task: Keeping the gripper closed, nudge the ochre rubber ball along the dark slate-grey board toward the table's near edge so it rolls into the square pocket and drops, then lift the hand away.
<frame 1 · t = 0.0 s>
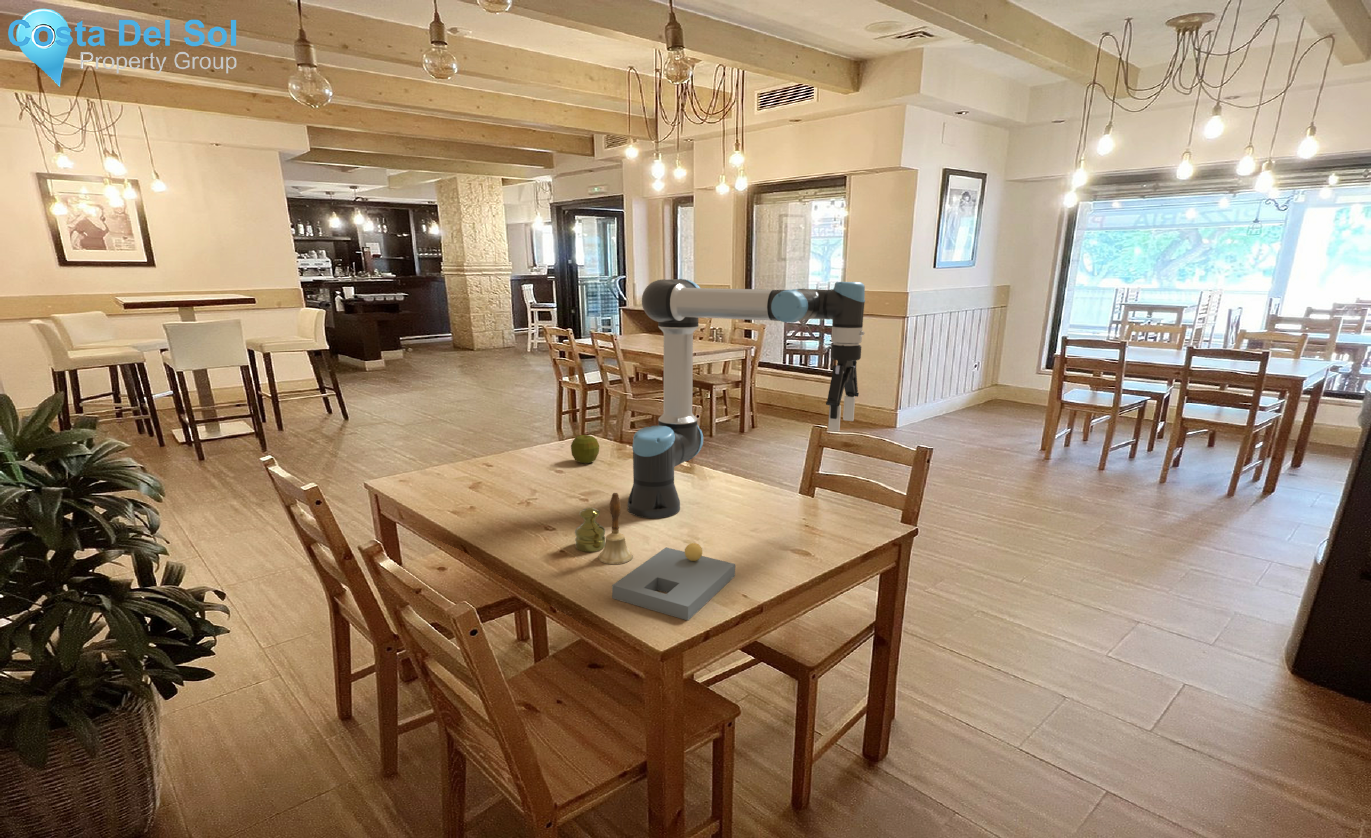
hand: (841, 425, 168), 28 cm above the table, fingers open, 13 cm apart
olive green tall piece: (590, 547, 161), on the table
ball: (693, 560, 146), point 3 cm above the table, touching board
hand bell: (615, 558, 155), on the table
board: (675, 586, 140), on the table
apple: (585, 463, 232), on the table
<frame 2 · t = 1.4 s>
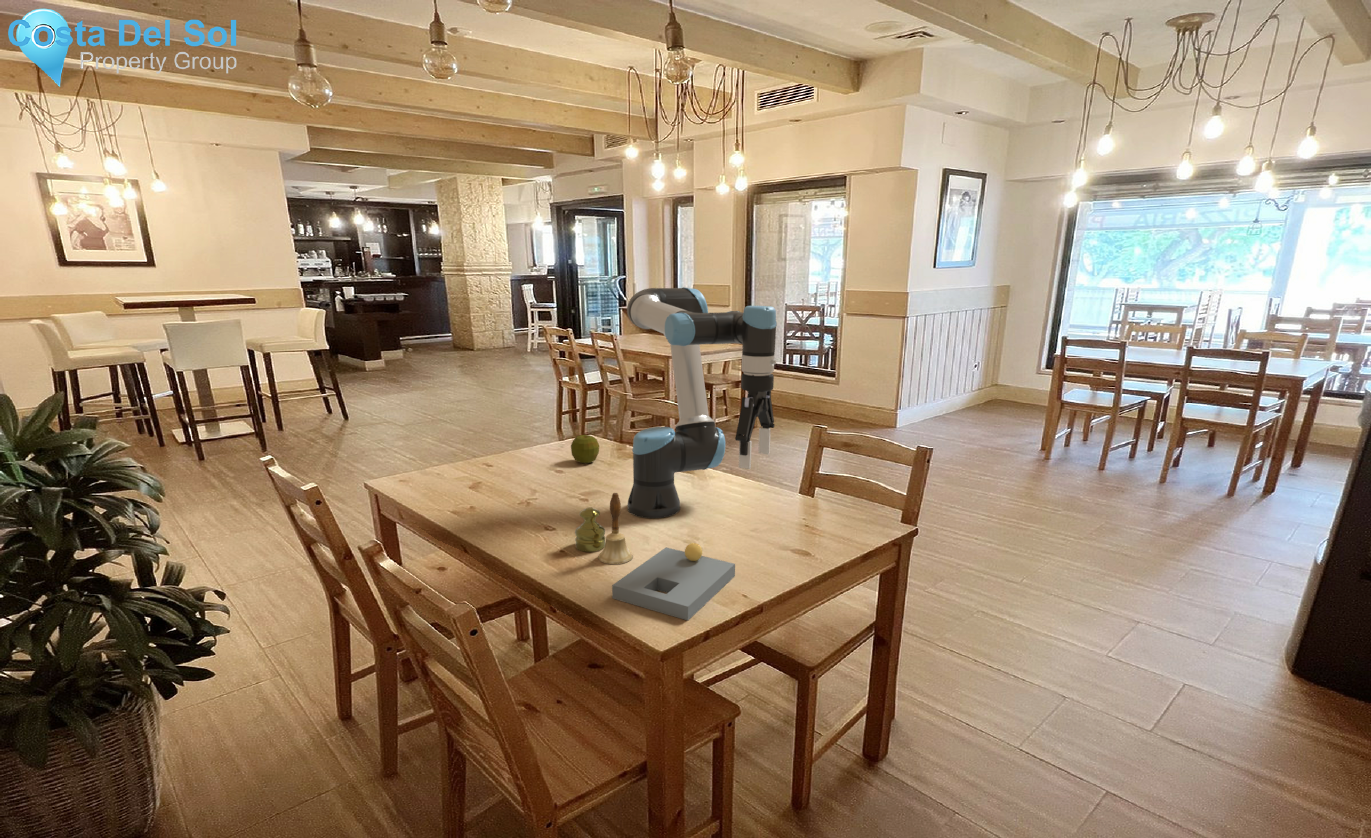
hand: (754, 460, 156), 23 cm above the table, fingers open, 13 cm apart
nothing on the table moved.
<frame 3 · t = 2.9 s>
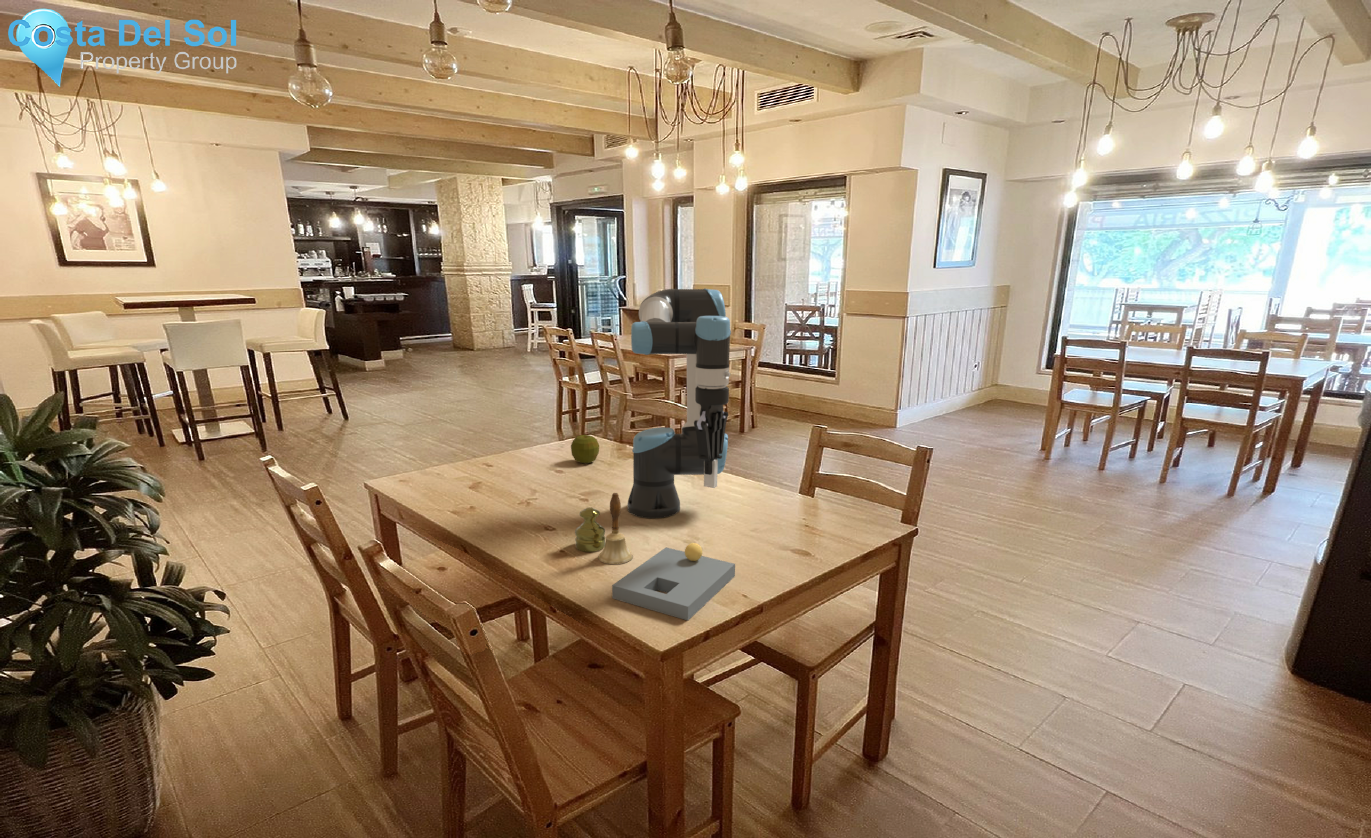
hand: (710, 486, 150), 18 cm above the table, fingers closed
nothing on the table moved.
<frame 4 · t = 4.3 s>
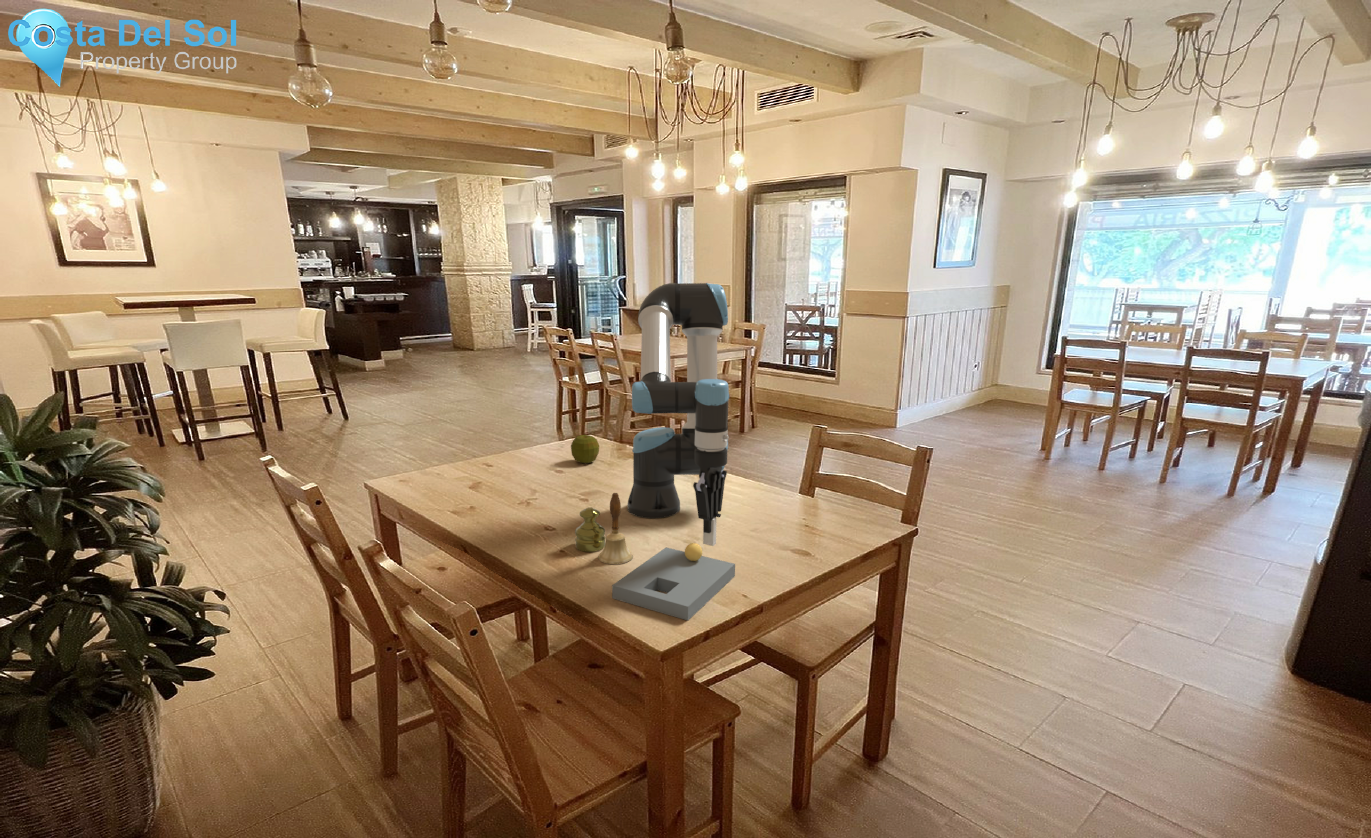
hand: (709, 543, 153), 4 cm above the table, fingers closed
nothing on the table moved.
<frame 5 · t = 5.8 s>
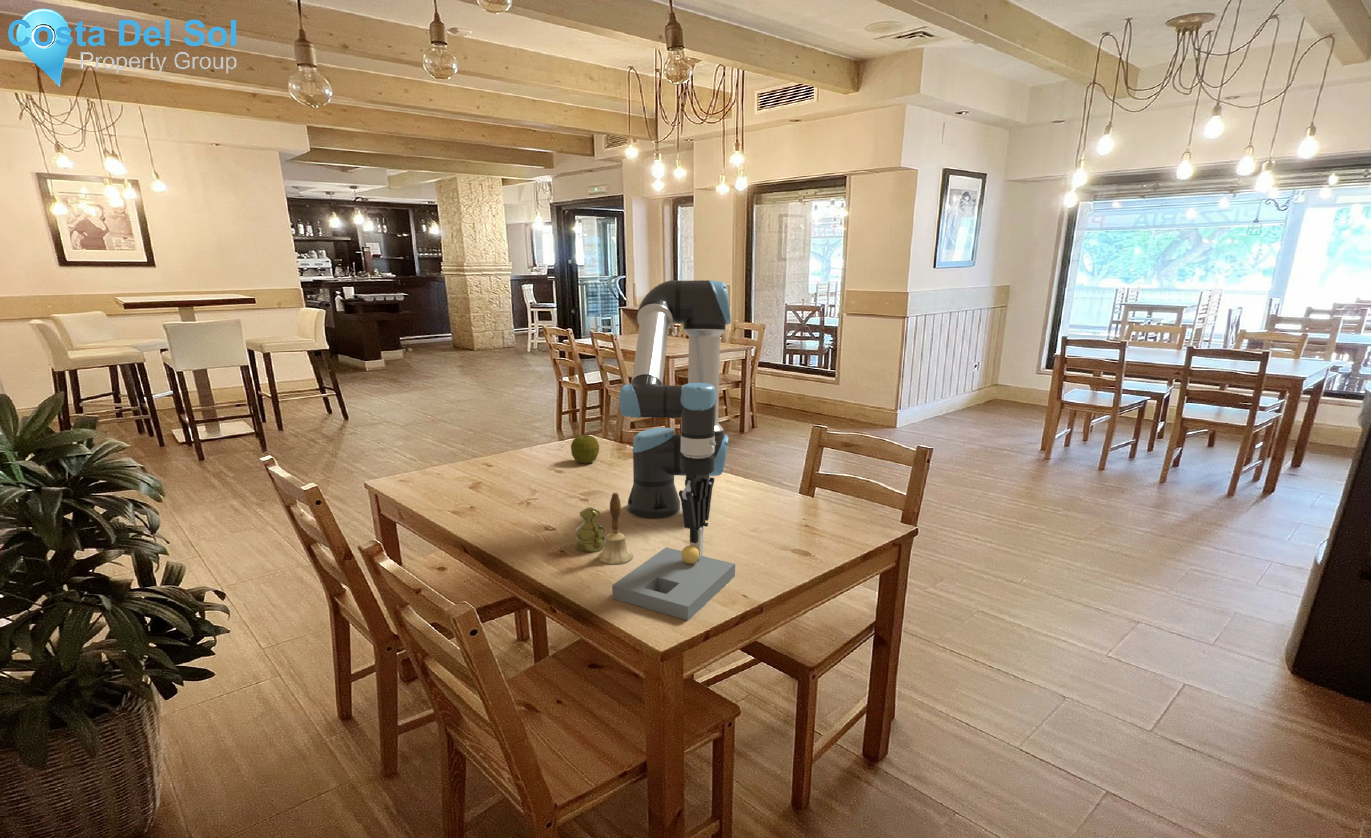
hand: (696, 553, 147), 4 cm above the table, fingers closed
ball: (693, 558, 146), point 4 cm above the table, tilted 44°, touching board
everything else where it was.
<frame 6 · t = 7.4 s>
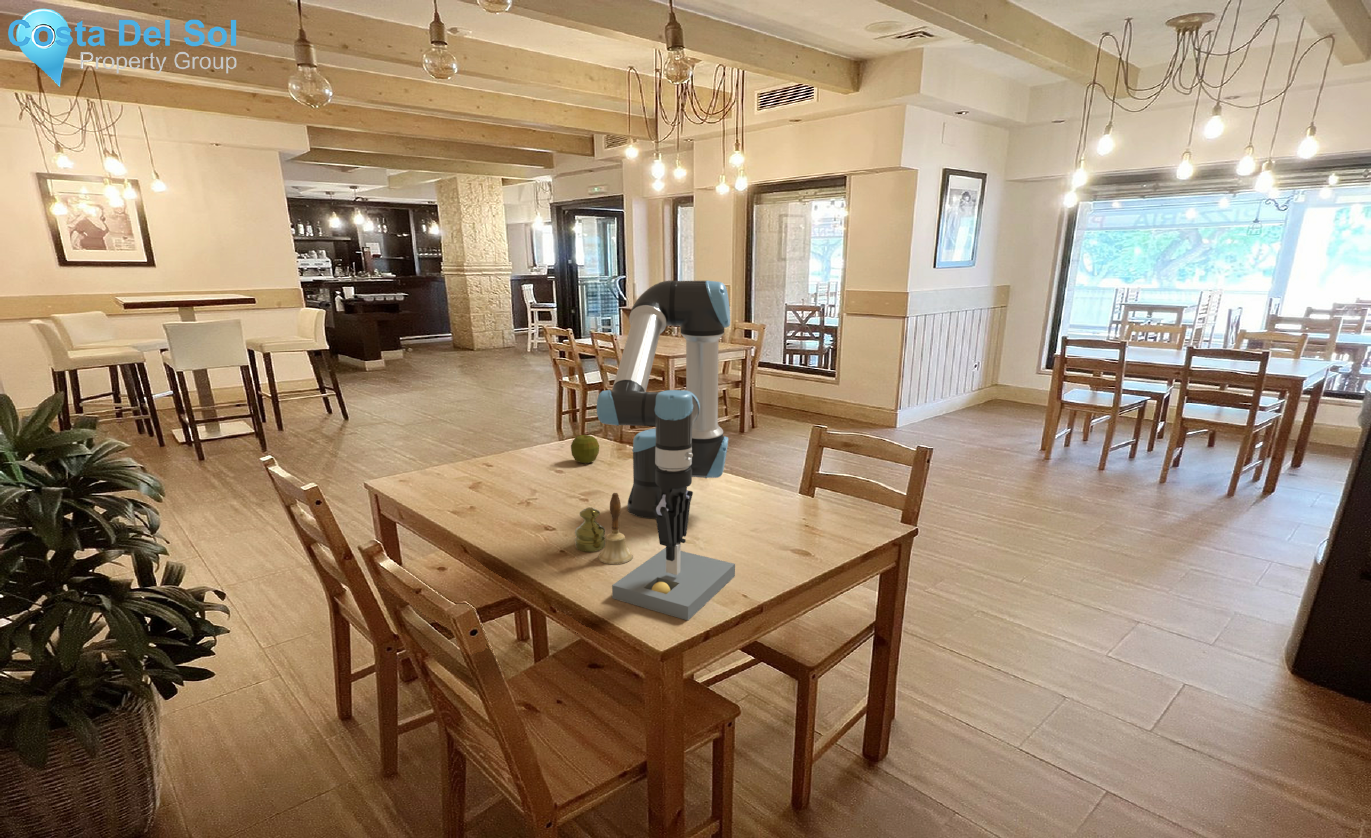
hand: (673, 572, 138), 4 cm above the table, fingers closed
ball: (665, 587, 136), point 2 cm above the table, tilted 94°
everything else where it was.
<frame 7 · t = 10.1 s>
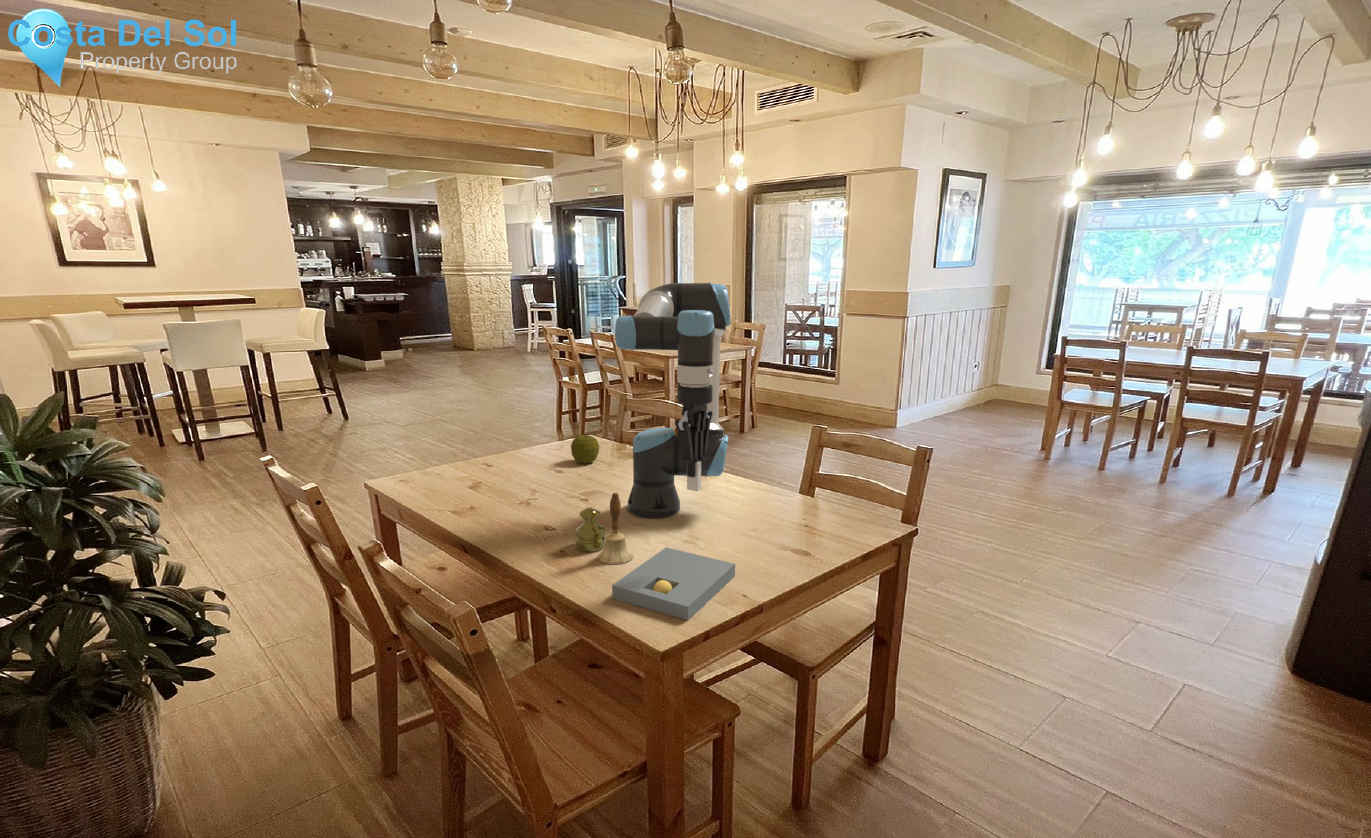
hand: (693, 489, 143), 20 cm above the table, fingers closed
ball: (667, 589, 136), point 1 cm above the table, tilted 72°
everything else where it was.
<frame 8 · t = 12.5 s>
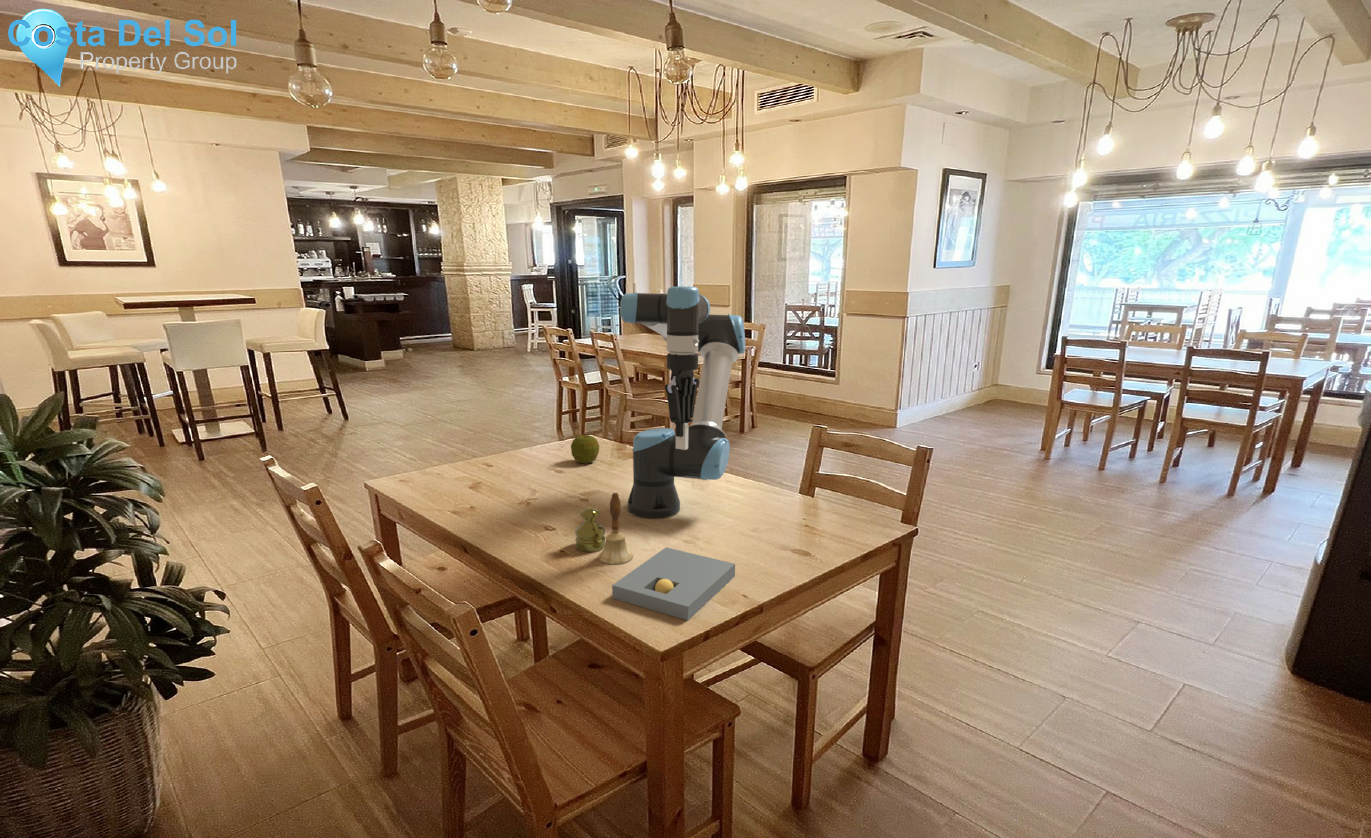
hand: (681, 448, 159), 24 cm above the table, fingers closed
ball: (668, 590, 137), point 1 cm above the table, tilted 52°
everything else where it was.
at the end: ball 2.3 cm from the target spot on the board, point 0.8 cm above the board's base; ball touching table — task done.
